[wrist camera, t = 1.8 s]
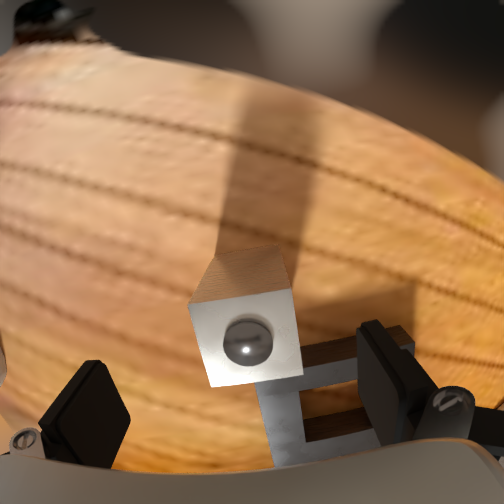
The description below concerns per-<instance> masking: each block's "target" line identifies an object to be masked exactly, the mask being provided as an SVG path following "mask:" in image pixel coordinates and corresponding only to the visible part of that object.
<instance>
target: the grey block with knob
mask: <svg viewBox="0 0 504 504" xmlns="http://www.w3.org/2000/svg"><path fill="white" fill-rule="evenodd" d="M187 305H188V309H189V312H190V316H191V320H192V323H193V327H194V331H195V334H196V338H197V341H198V345H199V348H200V351H201V355H202V358H203V362H204V365H205V368H206V371H207V375H208V378H209V381H210V384H211V387H217V386H227V385H236V384H245V383H253V382H260V381H267V380H274V379H281V378H287V377H293V376H299V375H304V374H303V367H302V359H301V352H300V345H299V338H298V331H297V324H296V317H295V310H294V303H293V297H292V290H291V286H290V282H289V279H288V275H287V272H286V268H285V265H284V261H283V258H282V254H281V251H280V247H279V244H276V245H270V246H264V247H259V248H253V249H247V250H242V251H236V252H230V253H224V254H219V255H214V257H213V259H212V261H211V263H210V264H209V266H208V268H207V270H206V272H205V273H204V275H203V277H202V279H201V281H200V282H199V284H198V286H197V288H196V290H195V292H194V293H193V295H192V297H191V299H190V301H189V303H188V304H187Z"/></svg>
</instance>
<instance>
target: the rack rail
mask: <svg viewBox="0 0 504 504" xmlns="http://www.w3.org/2000/svg"><path fill="white" fill-rule="evenodd" d="M386 331H387V332H388V333H389V334H390V336H391V337H392V338H393V340H394V341H395V342H396V343H397V345H398V346H399V347H400V349H407V350H409V351H410V353H411V354H412V355H413V356H414V350H415V342H414V340H413V339H412V338H411V337H410V336H409V335H408V334H407V332H406V331H405V330H404V329H403V328H402V327H401V326H400V325H398V326H394V327H390V328H386ZM300 352H301V359H302V367H303V374H304V375H299V376H293V377H287V378H281V379H274V380H267V381H260V382H254V384H255V388H256V392H257V396H258V401H259V405H260V409H261V413H262V417H263V422H264V426H265V430H266V434H267V438H268V442H269V446H270V450H271V454H272V458H273V462H274V466H275V467H283V466H290V465H296V464H302V463H308V462H314V461H320V460H325V459H330V458H335V457H340V456H344V455H349V454H353V453H358V452H362V451H367V450H371V449H375V448H379V447H381V445H380V442H379V440H378V438H377V435H376V433H375V431H374V428H373V426H372V424H371V421H370V419H369V417H368V414H367V412H366V410H365V408H364V407H362V408H358V409H354V410H350V411H346V412H341V413H336V414H332V415H327V416H322V417H316V418H311V419H305V420H303V419H302V411H301V404H300V397H299V391H302V390H307V389H313V388H318V387H323V386H328V385H333V384H338V383H342V382H347V381H351V380H356V379H358V370H357V337H356V336H352V337H347V338H343V339H338V340H333V341H328V342H323V343H318V344H312V345H307V346H302V347H300Z"/></svg>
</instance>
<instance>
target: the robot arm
mask: <svg viewBox="0 0 504 504" xmlns="http://www.w3.org/2000/svg"><path fill="white" fill-rule="evenodd" d="M356 337H357V370H358V393H359V396H360V399H361V401H362V403H363V405H364V408H365V410H366V412H367V414H368V417H369V419H370V421H371V424H372V426H373V428H374V431H375V433H376V435H377V438H378V440H379V442H380V445H381V447H379V448H375V449H371V450H367V451H362V452H358V453H353V454H349V455H344V456H340V457H335V458H330V459H325V460H320V461H314V462H308V463H302V464H296V465H290V466H283V467H275V468H267V469H258V470H247V471H234V472H216V473H157V472H139V471H126V470H116V469H111V467H112V464H113V462H114V460H115V457H116V455H117V452H118V450H119V448H120V445H121V443H122V441H123V438H124V436H125V434H126V432H127V429H128V427H129V425H130V421H131V419H130V415H129V413H128V411H127V409H126V407H125V405H124V403H123V401H122V399H121V397H120V395H119V393H118V390H117V388H116V386H115V384H114V382H113V380H112V378H111V375H110V373H109V371H108V369H107V366H106V365H105V364H104V363H102V362H101V361H100V360H87V361H85V362H84V363H83V365H82V366H81V367H80V368H79V370H78V371H77V372H76V373H75V375H74V376H73V377H72V379H71V380H70V381H69V382H68V384H67V385H66V386H65V388H64V389H63V390H62V391H61V393H60V394H59V395H58V397H57V398H56V399H55V401H54V402H53V403H52V405H51V406H50V407H49V409H48V410H47V411H46V413H45V414H44V415H43V417H42V418H41V419H40V421H39V422H38V424H39V426H40V427H41V429H42V431H41V433H40V432H39V431H38V430H37V429H36V428H25V429H22V430H20V431H18V432H17V433H16V434H14V436H13V437H12V438H11V440H10V444H9V448H10V451H9V452H7V453H5V454H2V455H0V504H504V403H503V404H502V405H501V406H500V407H499V408H498V409H497V410H496V409H490V408H484V407H477V406H475V398H474V396H473V394H472V393H471V392H470V391H469V390H467V389H465V388H463V387H459V386H446V387H442V388H440V389H439V388H438V387H437V386H436V384H435V383H434V382H433V381H432V379H431V378H430V377H429V375H428V374H427V373H426V372H425V370H424V369H423V368H422V366H421V365H420V364H419V363H418V361H417V360H416V359H415V358H414V356H413V355H412V354H411V353H410V351H409V350H407V349H400V347H399V346H398V345H397V343H396V342H395V341H394V340H393V338H392V337H391V336H390V334H389V333H388V332H387V331H386V329H385V328H384V327H383V326H382V324H381V323H380V322H379V321H378V320H377V319H376V320H372V321H368V322H363V323H362V324H361V327H360V328H357V330H356Z"/></svg>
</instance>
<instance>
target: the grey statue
mask: <svg viewBox="0 0 504 504" xmlns="http://www.w3.org/2000/svg"><path fill="white" fill-rule="evenodd" d="M6 373H7V369H6V362H5V357H4V355H3V352H2V350H1V347H0V387H1V385H2V383H3V381H4V379H5V377H6Z"/></svg>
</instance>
